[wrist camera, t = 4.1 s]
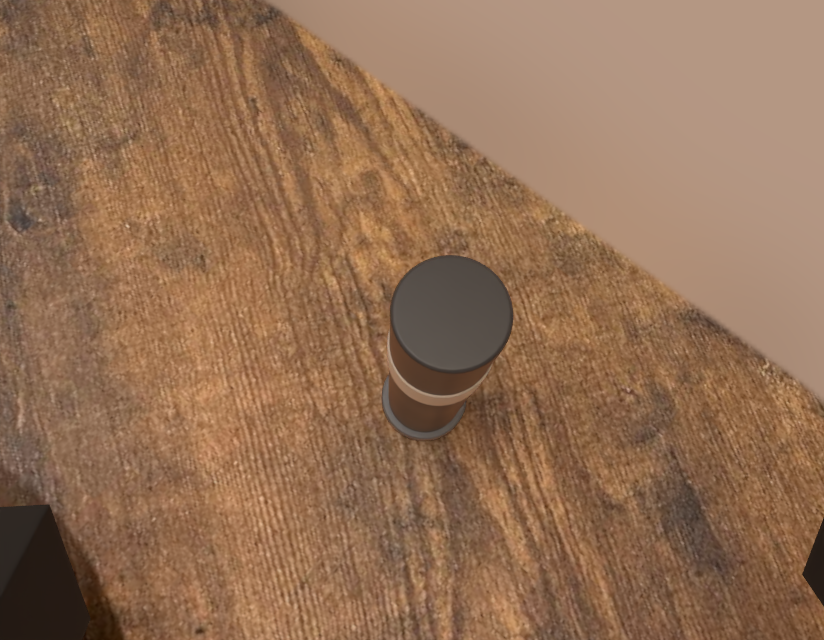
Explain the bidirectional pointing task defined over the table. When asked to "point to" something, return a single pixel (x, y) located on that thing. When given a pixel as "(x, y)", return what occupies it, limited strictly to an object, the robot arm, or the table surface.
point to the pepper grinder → (442, 343)
